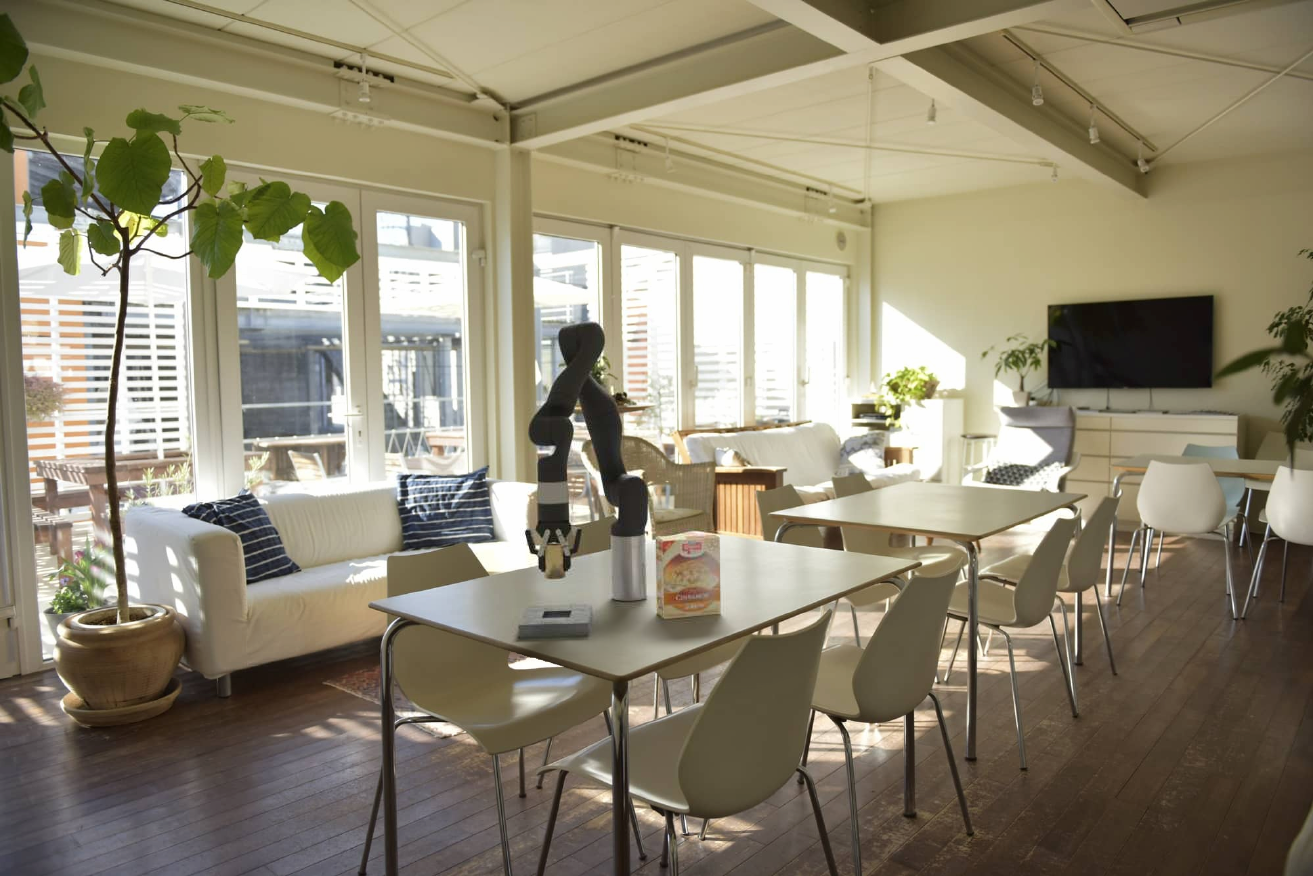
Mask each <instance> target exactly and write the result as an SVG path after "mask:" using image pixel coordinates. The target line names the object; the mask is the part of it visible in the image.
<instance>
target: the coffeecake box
mask: <svg viewBox="0 0 1313 876" xmlns="http://www.w3.org/2000/svg"><path fill="white" fill-rule="evenodd" d="M720 539H721V538H720V536H718V535H717V534H714V533H712V532H708V533H706V532H705V533H694V534H693V533H692V534H691V533H690V534H680V535H679V534H678V535H676V534H675V535H663V536H662V535H661V536H655V576H656V577H655V579H656V583H655V584H656V585H655V586H656V589H655V590H656V613H657V614H658V615H659V616H660V617H661V618H662V619H663V620H670V619H672V620H674V619H679V618H681V619H682V618H689V617H690V618H691V617H692V618H693V617H703V616H712V615H721V613H722V611H721V609H722V608H721V606H722V605H721V602H722V601H721V546H720V545H721V544H720V543H721V542H720Z"/></svg>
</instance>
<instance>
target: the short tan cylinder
mask: <svg viewBox="0 0 1313 876" xmlns="http://www.w3.org/2000/svg"><path fill="white" fill-rule="evenodd" d="M564 556H565V553H564V550H563V548H562V546H561V543H554V542H553V543H546V546H545V549H544V572H543V573H544V579H547V580H560V579H561V580H562V579H565V578H566V577H567V575H566V573H567V571H566V572H565V559H564Z"/></svg>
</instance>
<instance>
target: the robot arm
mask: <svg viewBox="0 0 1313 876" xmlns="http://www.w3.org/2000/svg"><path fill="white" fill-rule="evenodd" d="M605 336H606V335H605V333H604V330H603V328H602V326H601V325H600V324H599V323H598V322H597V321H594V320H588V321H587V320H586V321H583V322H579V323H574V324H569V325H567V326H563V327H561V328H560V329H559V331H558V335H557V341H558V347H559V351H560V353H561V357H562V358H563V361H564V364H565V368H564V369H563V371H561V373H559V374H558V376H557V377H556V379H554V382H553V383H552V386H551V388H550V391H549V393H548V396H547V398H546V401H545V402H544V403H543V404H542V405H541V407H540V408H539V409H538V410H537V412H536V413H535V414H534V415H533V417H532V419H531V421H530V422H529V426H528V430H527V431H528V438H529V440H530V442H531V443H533V445H535V446H539V447H555V449H554V452H553V453H552V454H549V455H545V456H542V457H539V459H538V460H537V463H536V464H537V466H536V468H537V471H536V473H537V487H536V507H537V509H536V511H537V513H536V514H537V515H536V516H537V524H536V525H535V527H531V528H526V530H524V534H525V535H524V536H525V538H526V542H527V546H528V549H529V553H530V554H531V555H535V556H537V558H538V559H537V562H538V563H537V564H538V569H539V570H540V571H541V573H544V549H545V546H546V543H553V542H554V543H561V546H562V548H563V550H564V553H565V556H564V559H565V572H566V573H567V572H568V571H569V570H570V569H571V568H572V555H574V554H577V553H578V551H579V548H580V544H581V543H580V542H581V538H582V533H583V530H584V529H583V528H582V527H581V526H578V527H576V526H572V524H571V522H570V494H569V492H570V491H569V484H568V460H569V455H570V450H571V446H572V443H573V439H574V434H575V432H574V431H575V428H574V424H573V422H572V420H571V419H570V417H572V415H573V414H574V411H575V409H576V405H577V403H578V401H579V404H580V408H581V412H582V416H583V419H584V423H585V426H586V429H587V432H588V434H589V439H590V441H591V444H592V448H593V451H594V454H595V457H596V461H597V464H598V468H599V469H598V470H599V474H600V479H601V485H602V489H603V494H604V497H605V499H606V501H607V503H608V504H610V505H611V506H612V507H614V508H618V510H617V511H618V513H617V519H616V521H615V522H612V523H611V524H610V548H611V549H610V552H611V553H610V555H611V561H610V562H611V593H612V594H611V595H612V599H613V600H615V601H616V600H617V601H622V602H630V601H631V602H632V601H640V600H641V601H642V600H647V597H648V595H647V564H646V563H647V561H646V559H647V558H646V526H647V524H648V519H649V490H648V485H647V483H646V481H645V480H644V479H643V478H642V477H640V476H638V475H633V474H628V472H627V470H626V467H625V463H624V461H623V458H622V452H621V451H622V450H621V449H622V439H623V424H622V418H621V416H620V412H619V411H620V410H619V408H618V406H617V402H616V400H615V399H614V397H613V396H612V395H611V394H610V393H609V392H608V391H607V390H606V389H605V388H604V387H603V386H602V385H601V384H600V383H599V382H598V381H597V380H596V379H595V378H594V377H593V375H592V374H591V372H592V371H593V369H594V367H595V365H596V363H597V362H598V360H599V358H600V357H601V355H602V353H603V351H604V348H605V344H606V337H605ZM571 532H572V536H573V537H574V543H573V545H572V546H573V547H570V546H569V545H570V544H569V542H568V540H567V537H568V536H569V533H571ZM536 533H537V534H538V536H540V538H541V539H542V540H541V542H540V546H539V549H538V548H536V547H537V546H536V543H535V539H534V537H535V536H536Z"/></svg>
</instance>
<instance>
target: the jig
mask: <svg viewBox="0 0 1313 876" xmlns="http://www.w3.org/2000/svg"><path fill="white" fill-rule="evenodd" d="M593 616H594V614H593V604H592V603H591V604H590V603H589V604H588V603H587V604H559V605H555V604H554V605H552V604H551V605H550V604H549V605H528V606H527V608H526V609H525V611H524V613H523V615H522V616H521V619H520V621H519V623H518V627H517V628H518V638H519V637H523V638H526V639H527V638H529V639H531V638H562V637H565V638H567V637H589V636H590V631H591V627H592V621H593ZM523 638H522V639H523Z"/></svg>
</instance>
